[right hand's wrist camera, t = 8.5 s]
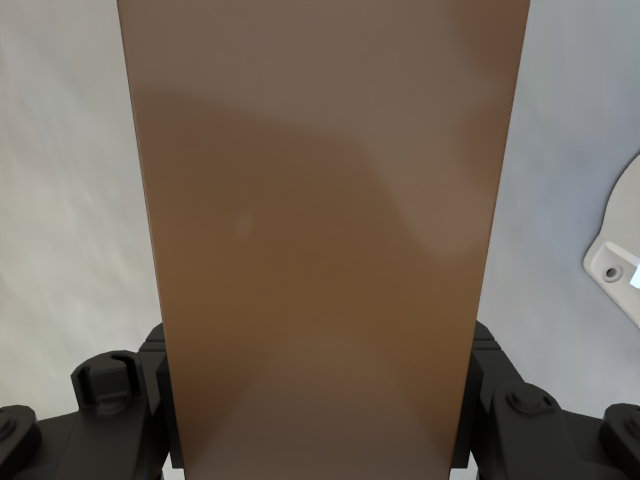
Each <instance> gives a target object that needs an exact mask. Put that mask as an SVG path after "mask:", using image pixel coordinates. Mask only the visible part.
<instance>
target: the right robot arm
mask: <svg viewBox="0 0 640 480" xmlns="http://www.w3.org/2000/svg"><path fill="white" fill-rule="evenodd" d="M71 380H72V384H73V387H74V391H75V395H76V398H77V402H78V406H79V410H78V411H77V412H74V413H70V414H66V415H62V416H58V417H53V418H49V419H45V420H40V421H37V418H36V415H35V411H33V410H32V409H31V408H30V407H28V406H22V405H13V406H6V407H2V408H0V480H164V477H163V471H162V468H163V465H164V463H165V461H166V458H167V456H168V453H169V452H170V457H171V463H172V469H183V462H182V455H181V448H180V441H179V434H178V427H177V420H176V413H175V406H174V399H173V392H172V385H171V378H170V371H169V364H168V357H167V350H166V343H165V336H164V329H163V322H162V323H160V324H159V325H158V326H156V327H155V328H153V330H152V331H151V333H150V334H149V336H148V337H147V338H146V341H145V342H144V343H143V344H142V346H141V347H140V349H139V352H137V353H135V352H131V351H126V350H120V351H110V352H106V353H102V354H99V355H97V356H95V357H92V358H90V359H88V360H86V361H85V362H83V363H82V364H81V365H79V366H78V367H77V368H76V369H75V370H74V372H73V373H72V374H71ZM470 450H471V452H472V454H473V457H474V459H475V462H476V464H477V466H478V471H477V477H476V480H640V406H638V405H632V404H625V403H620V404H613V405H611V406H610V407H608V408H607V409H606V410H605V414H604V417H603V419H598V418H594V417H590V416H585V415H581V414H576V413H572V412H569V411H565V410H562V409H561V407H560V406H559V404H558V403H557V401H556V400H555V399H554V398H553V397H552V396H551V395H550V394H548V393H547V392H546V391H544V390H543V389H541V388H539V387H537V386H535V385H532V384H529V383H525V382H524V380H523V379H522V377H521V376H520V374H519V373H518V372H517V370H516V369H515V367H514V366H513V364H512V363H511V362H510V360H509V359H508V357H507V356H506V354H505V353H504V351H501V347H500V346H499V344H498V343H497V341H495V339H494V337H493V336H492V334H491V333H490V331H489V330H488V328H487V327H486V326H484V325H483V324H481V323H480V322H479V321H477V320H476V324H475V330H474V336H473V342H472V348H471V353H470V359H469V365H468V371H467V377H466V383H465V389H464V395H463V401H462V407H461V412H460V418H459V424H458V430H457V436H456V442H455V448H454V454H453V460H452V465H451V468H467V467H468V462H469V456H470Z"/></svg>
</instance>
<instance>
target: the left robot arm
mask: <svg viewBox="0 0 640 480" xmlns="http://www.w3.org/2000/svg"><path fill="white" fill-rule="evenodd" d="M583 266H584V269H585V270H586V272H587V273H588V274H589V275H590V276H591V277H592V278H593V279H594V280H595V281H596V282H597V283H598V284H599V285H600V287H601V288H602V289H603V290H604V291H605V292H606V293H607V294H608V295H609V296H610V297H611V298H612V299H613V300H614V302H615V303H616V304H617V305H618V306H619V307H620V308H621V309H622V310H623V311H624V312H625V313H626V314H627V315H628V317H629V318H630V319H631V320H632V321H633V322H634V323H635V324H636V325H637V326H638V327H639V328H640V154H639V155H638V156H637V157H636V158H635V159H634V160H633V161H632V163H631V164H630V165H629V166H628V167H627V169H626V170H625V171H624V173H623V174H622V175H621V177H620V179H619V180H618V182H617V183H616V185H615V187H614V189H613V191H612V194H611V196H610V198H609V201H608V204H607V207H606V211H605V216H604V220H603V225H602V228H601V231H600V233H599V235H598V237H597V238H596V239H595V241H594V242H593V244H592V245H591V247H590V248H589V250H588V252H587V254H586V256H585V258H584V261H583ZM609 269H611V270H610V271H609V272H608V273H606V272H607V271H608V270H609Z"/></svg>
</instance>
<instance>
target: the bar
mask: <svg viewBox="0 0 640 480" xmlns="http://www.w3.org/2000/svg"><path fill="white" fill-rule="evenodd" d="M117 6H118V13H119V20H120V27H121V34H122V41H123V48H124V55H125V62H126V69H127V76H128V83H129V90H130V97H131V104H132V111H133V118H134V125H135V132H136V139H137V146H138V153H139V160H140V167H141V174H142V181H143V188H144V195H145V202H146V209H147V216H148V224H149V231H150V238H151V245H152V252H153V259H154V266H155V273H156V280H157V287H158V294H159V301H160V308H161V315H162V322H163V329H164V336H165V343H166V350H167V357H168V364H169V371H170V378H171V385H172V392H173V399H174V406H175V413H176V420H177V427H178V434H179V441H180V448H181V455H182V462H183V469H184V476H185V480H449V477H450V471H451V465H452V460H453V454H454V448H455V442H456V436H457V430H458V424H459V418H460V412H461V407H462V401H463V395H464V389H465V383H466V377H467V371H468V365H469V359H470V353H471V348H472V342H473V336H474V330H475V324H476V318H477V312H478V306H479V300H480V295H481V289H482V283H483V277H484V271H485V265H486V259H487V253H488V247H489V241H490V236H491V230H492V224H493V218H494V212H495V206H496V200H497V194H498V188H499V183H500V177H501V171H502V165H503V159H504V153H505V147H506V141H507V135H508V129H509V124H510V118H511V112H512V106H513V100H514V94H515V88H516V82H517V76H518V70H519V65H520V59H521V53H522V47H523V41H524V35H525V29H526V23H527V17H528V12H529V6H530V0H117Z"/></svg>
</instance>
